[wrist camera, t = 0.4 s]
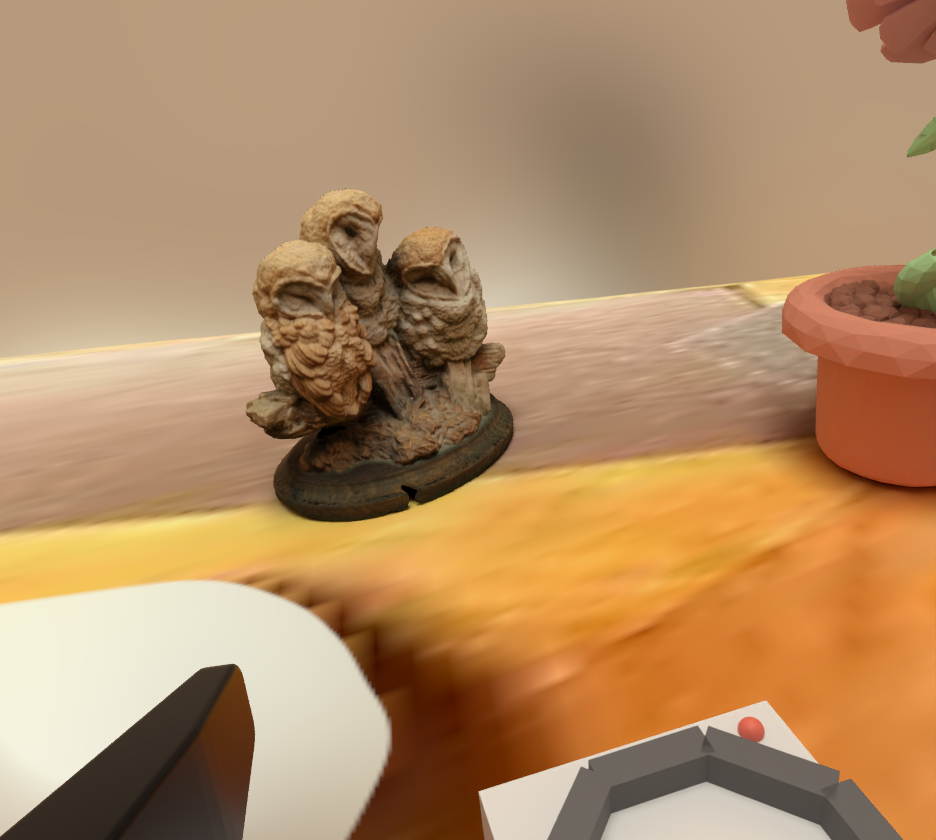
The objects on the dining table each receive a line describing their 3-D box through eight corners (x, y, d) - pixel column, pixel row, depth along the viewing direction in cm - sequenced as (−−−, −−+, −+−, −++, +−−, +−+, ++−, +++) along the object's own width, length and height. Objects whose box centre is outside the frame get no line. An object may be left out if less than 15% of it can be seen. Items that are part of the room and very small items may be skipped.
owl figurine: (336, 566, 38) (260, 238, 30) (227, 491, 45) (146, 216, 38) (556, 430, 48) (543, 163, 40) (437, 389, 56) (408, 158, 48)
